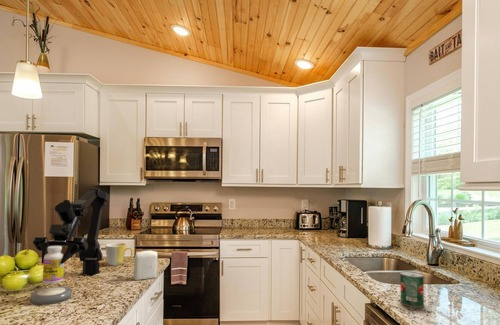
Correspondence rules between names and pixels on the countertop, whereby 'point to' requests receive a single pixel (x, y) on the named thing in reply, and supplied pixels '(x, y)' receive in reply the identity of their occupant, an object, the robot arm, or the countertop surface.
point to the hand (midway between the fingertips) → (52, 263)
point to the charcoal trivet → (50, 295)
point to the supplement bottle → (53, 265)
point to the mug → (116, 253)
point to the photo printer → (145, 265)
